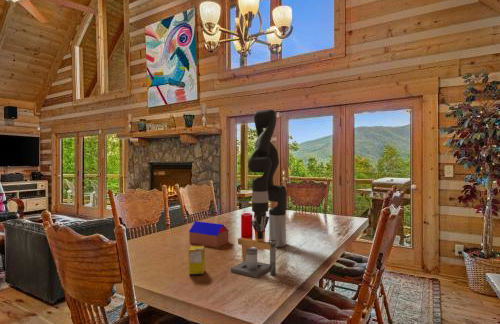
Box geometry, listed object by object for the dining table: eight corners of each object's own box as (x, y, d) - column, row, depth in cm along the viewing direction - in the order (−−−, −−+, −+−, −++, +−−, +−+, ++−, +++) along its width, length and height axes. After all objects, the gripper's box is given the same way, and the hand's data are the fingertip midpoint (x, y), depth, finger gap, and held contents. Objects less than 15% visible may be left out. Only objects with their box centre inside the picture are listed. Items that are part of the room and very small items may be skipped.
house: (217, 248, 170) (216, 226, 169) (188, 243, 180) (188, 223, 179) (229, 242, 180) (229, 222, 180) (201, 238, 190) (201, 219, 190)
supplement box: (205, 270, 136) (204, 245, 136) (203, 275, 130) (203, 249, 130) (191, 270, 136) (191, 245, 136) (189, 275, 130) (188, 249, 130)
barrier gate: (241, 265, 141) (241, 234, 141) (278, 273, 131) (278, 240, 131) (237, 267, 138) (236, 236, 138) (274, 276, 128) (274, 242, 128)
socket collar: (247, 262, 145) (247, 259, 145) (271, 268, 138) (271, 264, 138) (230, 271, 134) (230, 268, 134) (256, 277, 127) (256, 274, 127)
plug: (249, 267, 140) (249, 247, 139) (259, 269, 137) (259, 248, 137) (243, 270, 135) (243, 250, 135) (253, 273, 133) (253, 251, 132)
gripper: (260, 198, 150) (260, 234, 150) (245, 202, 138) (245, 241, 139) (274, 199, 146) (274, 236, 146) (259, 203, 134) (260, 243, 135)
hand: (260, 238), depth 142 cm, fingers closed
